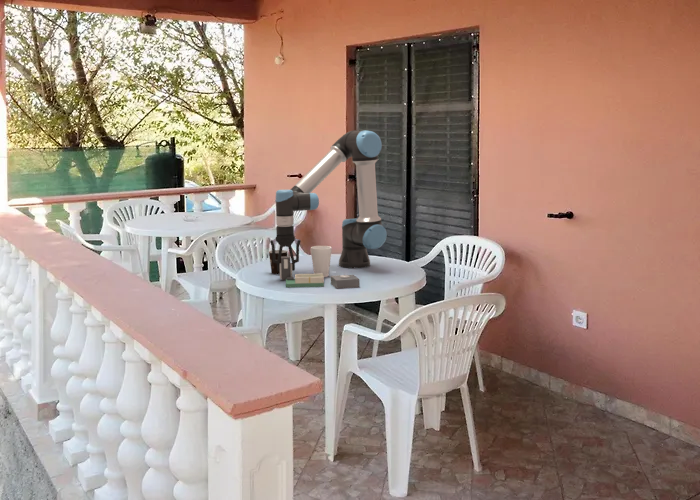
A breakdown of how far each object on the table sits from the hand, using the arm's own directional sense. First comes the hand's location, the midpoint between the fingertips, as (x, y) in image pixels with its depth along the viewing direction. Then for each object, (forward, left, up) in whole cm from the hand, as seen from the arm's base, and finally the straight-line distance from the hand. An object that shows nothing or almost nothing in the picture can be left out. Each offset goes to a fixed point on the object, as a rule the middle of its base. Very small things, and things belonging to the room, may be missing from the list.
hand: (286, 278), depth 332 cm
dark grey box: (-25, +14, -1) cm, 29 cm away
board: (-8, +10, -1) cm, 13 cm away
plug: (0, 0, -1) cm, 1 cm away
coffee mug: (+3, -18, -1) cm, 18 cm away
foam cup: (-16, -8, -1) cm, 18 cm away
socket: (-10, +11, +1) cm, 15 cm away
